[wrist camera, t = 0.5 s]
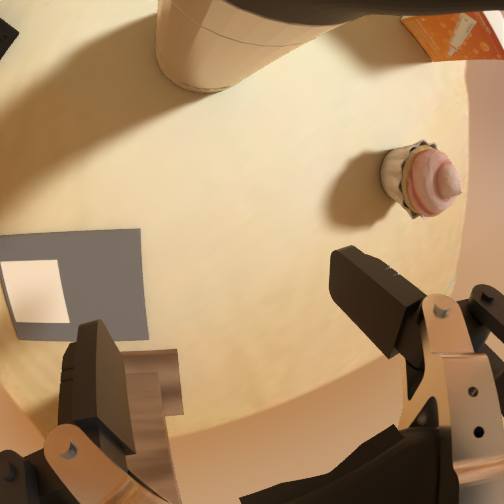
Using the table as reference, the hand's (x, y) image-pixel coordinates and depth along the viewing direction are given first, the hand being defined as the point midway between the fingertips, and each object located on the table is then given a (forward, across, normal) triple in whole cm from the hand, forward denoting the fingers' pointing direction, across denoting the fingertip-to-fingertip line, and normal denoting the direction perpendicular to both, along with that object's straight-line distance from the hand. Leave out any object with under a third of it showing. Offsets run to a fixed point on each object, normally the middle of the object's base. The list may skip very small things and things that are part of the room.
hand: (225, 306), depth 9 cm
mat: (+18, +12, +8) cm, 24 cm away
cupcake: (+17, -26, +4) cm, 32 cm away
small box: (+20, -35, -16) cm, 44 cm away
